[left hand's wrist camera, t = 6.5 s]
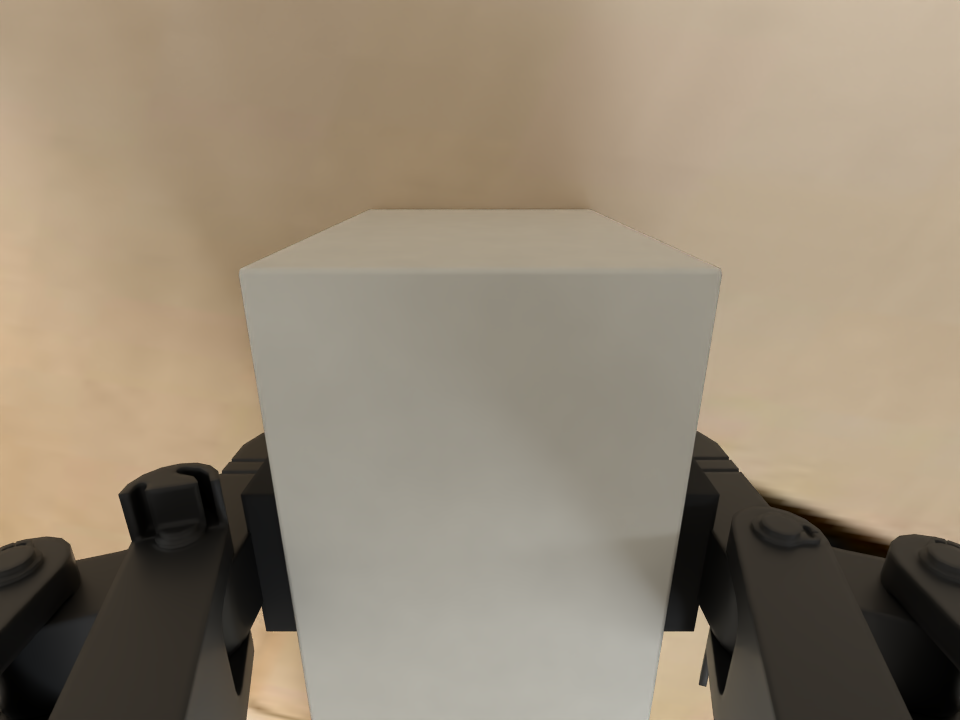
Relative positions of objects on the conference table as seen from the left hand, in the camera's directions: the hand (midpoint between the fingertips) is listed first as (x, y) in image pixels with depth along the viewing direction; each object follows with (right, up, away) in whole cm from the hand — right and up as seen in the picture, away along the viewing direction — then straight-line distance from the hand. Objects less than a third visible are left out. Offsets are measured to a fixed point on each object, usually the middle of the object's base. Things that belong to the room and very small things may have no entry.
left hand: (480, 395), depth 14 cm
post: (0, -33, +13) cm, 35 cm away
